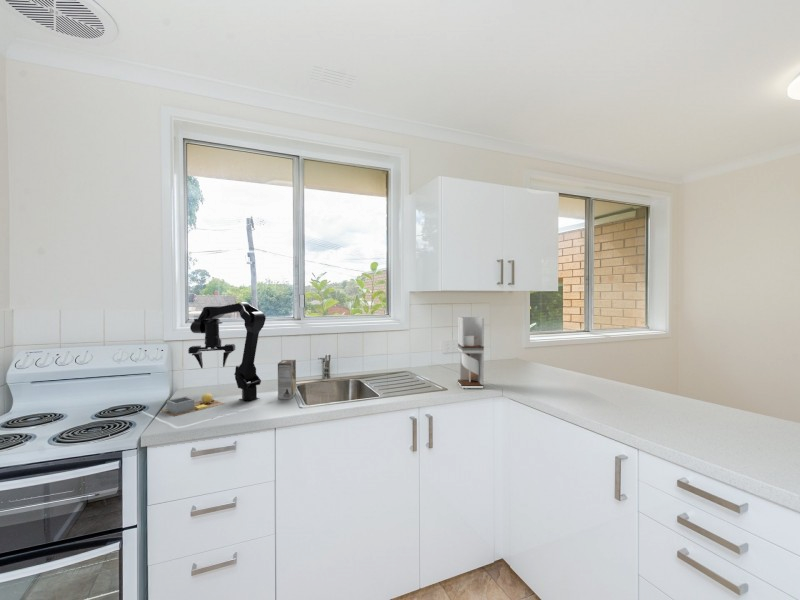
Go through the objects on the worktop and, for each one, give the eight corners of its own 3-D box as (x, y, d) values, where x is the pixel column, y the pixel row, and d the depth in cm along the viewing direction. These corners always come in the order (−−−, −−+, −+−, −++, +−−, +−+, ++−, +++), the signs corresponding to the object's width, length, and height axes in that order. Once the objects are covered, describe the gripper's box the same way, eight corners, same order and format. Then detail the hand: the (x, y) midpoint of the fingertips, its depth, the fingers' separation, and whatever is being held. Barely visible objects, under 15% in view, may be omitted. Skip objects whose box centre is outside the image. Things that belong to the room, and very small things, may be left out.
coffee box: (282, 393, 175) (282, 359, 175) (296, 393, 176) (296, 359, 175) (277, 399, 166) (277, 363, 166) (292, 398, 166) (292, 363, 166)
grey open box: (194, 409, 149) (194, 399, 149) (175, 414, 143) (175, 403, 143) (185, 406, 154) (185, 396, 153) (166, 410, 148) (166, 400, 148)
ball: (214, 402, 158) (214, 393, 158) (204, 405, 155) (204, 395, 155) (209, 401, 161) (209, 391, 161) (200, 403, 158) (199, 393, 157)
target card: (207, 407, 151) (207, 405, 151) (198, 410, 149) (198, 408, 148) (203, 406, 154) (203, 404, 154) (194, 408, 151) (194, 406, 151)
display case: (457, 383, 196) (458, 317, 195) (477, 383, 196) (478, 317, 195) (462, 389, 184) (462, 318, 183) (483, 388, 185) (483, 318, 184)
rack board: (225, 405, 157) (225, 402, 157) (174, 417, 141) (174, 414, 141) (210, 400, 164) (210, 397, 164) (160, 411, 148) (160, 408, 148)
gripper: (236, 331, 181) (237, 363, 181) (194, 332, 176) (195, 365, 177) (232, 333, 171) (233, 367, 171) (187, 335, 166) (188, 370, 166)
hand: (213, 367), depth 171 cm, fingers open, 9 cm apart
